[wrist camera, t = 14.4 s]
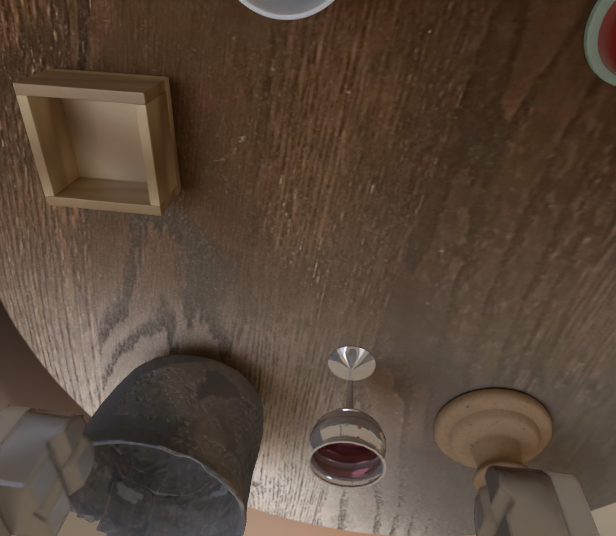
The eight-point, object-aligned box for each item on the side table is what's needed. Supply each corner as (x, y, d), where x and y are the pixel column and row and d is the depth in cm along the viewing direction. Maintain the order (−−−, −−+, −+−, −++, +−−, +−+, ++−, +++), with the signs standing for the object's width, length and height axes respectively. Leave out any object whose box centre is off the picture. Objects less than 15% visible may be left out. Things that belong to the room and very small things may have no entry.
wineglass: (390, 344, 49) (394, 447, 39) (378, 390, 53) (379, 494, 43) (323, 335, 49) (310, 434, 39) (316, 381, 53) (303, 482, 43)
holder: (50, 67, 37) (12, 83, 33) (168, 76, 36) (144, 92, 33) (77, 180, 42) (47, 205, 38) (181, 189, 42) (161, 215, 38)
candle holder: (571, 400, 50) (668, 627, 34) (520, 468, 57) (581, 684, 41) (455, 376, 50) (495, 590, 34) (418, 447, 57) (437, 654, 40)
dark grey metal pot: (124, 413, 60) (59, 535, 47) (115, 303, 50) (29, 422, 38) (266, 441, 60) (237, 571, 47) (284, 337, 50) (254, 467, 37)
